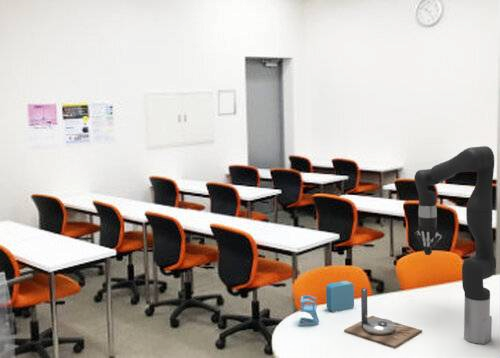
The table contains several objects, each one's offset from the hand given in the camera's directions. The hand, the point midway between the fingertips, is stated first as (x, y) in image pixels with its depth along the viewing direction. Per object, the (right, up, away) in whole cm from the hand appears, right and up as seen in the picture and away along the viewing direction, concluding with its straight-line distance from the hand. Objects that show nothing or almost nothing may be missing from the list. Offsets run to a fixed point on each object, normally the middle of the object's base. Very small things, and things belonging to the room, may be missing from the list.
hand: (428, 254), depth 252 cm
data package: (-36, -27, +13) cm, 47 cm away
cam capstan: (-23, -28, -15) cm, 40 cm away
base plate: (-23, -30, -15) cm, 40 cm away
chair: (-52, -29, -2) cm, 60 cm away
